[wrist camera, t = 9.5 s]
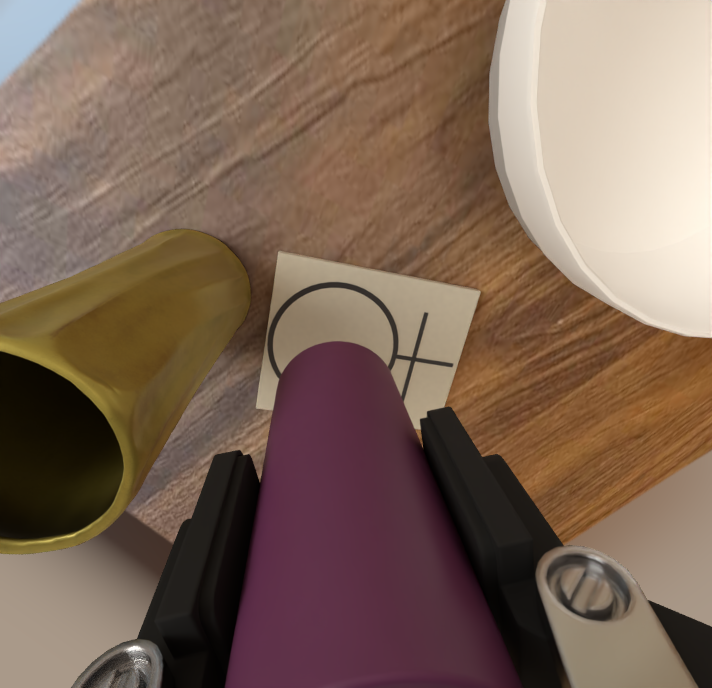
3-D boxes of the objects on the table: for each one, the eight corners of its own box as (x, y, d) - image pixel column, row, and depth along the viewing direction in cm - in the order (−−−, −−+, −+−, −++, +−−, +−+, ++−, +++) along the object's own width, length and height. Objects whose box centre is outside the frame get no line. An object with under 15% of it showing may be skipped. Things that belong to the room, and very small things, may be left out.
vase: (226, 361, 23) (111, 599, 10) (112, 316, 22) (-205, 525, 8) (269, 262, 21) (202, 388, 8) (150, 206, 20) (-174, 246, 7)
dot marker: (271, 425, 15) (192, 881, 5) (287, 322, 14) (224, 672, 4) (376, 439, 16) (485, 866, 6) (402, 341, 14) (598, 682, 5)
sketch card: (256, 403, 24) (255, 409, 24) (279, 250, 21) (277, 252, 21) (434, 426, 26) (436, 432, 25) (477, 288, 23) (481, 291, 22)
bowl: (362, 23, 18) (404, -108, 10) (771, -290, 16) (1251, -787, 8) (534, 348, 25) (643, 428, 17) (839, 159, 22) (1137, 144, 14)
